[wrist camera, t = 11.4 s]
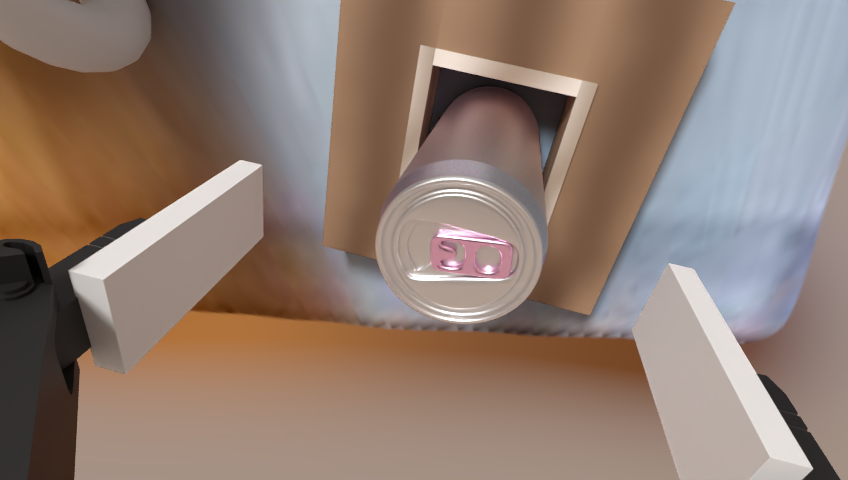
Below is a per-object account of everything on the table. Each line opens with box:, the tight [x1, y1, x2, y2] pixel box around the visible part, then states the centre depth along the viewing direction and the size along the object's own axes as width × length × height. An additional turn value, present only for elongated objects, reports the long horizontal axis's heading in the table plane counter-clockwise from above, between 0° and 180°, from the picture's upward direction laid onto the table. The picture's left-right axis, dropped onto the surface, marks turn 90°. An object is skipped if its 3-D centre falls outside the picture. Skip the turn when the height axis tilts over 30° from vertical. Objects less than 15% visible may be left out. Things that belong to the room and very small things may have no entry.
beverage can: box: [375, 87, 548, 324], centre depth 22 cm, size 6×6×15 cm
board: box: [323, 0, 735, 315], centre depth 27 cm, size 18×18×3 cm
